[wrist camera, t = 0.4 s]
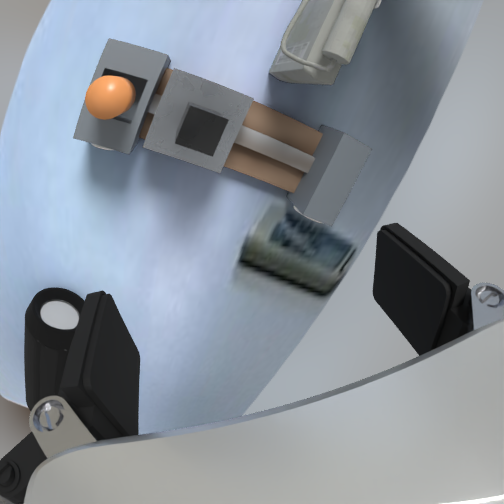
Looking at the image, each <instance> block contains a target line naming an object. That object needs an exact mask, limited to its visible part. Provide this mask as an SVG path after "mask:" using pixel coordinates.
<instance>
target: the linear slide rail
mask: <svg viewBox="0 0 504 504" xmlns="http://www.w3.org/2000/svg"><path fill="white" fill-rule="evenodd" d="M170 61H171V60H170V58H169V56H168V55H167V54H163V53H160V52H157V51H154V50H150V49H147V48H144V47H140V46H137V45H133V44H129V43H125V42H122V41H118V40H114V39H110V38H109V39H108V41H107V44H106V46H105V48H104V50H103V53H102V55H101V58H100V60H99V63H98V65H97V68H96V70H95V73H94V75H93V78H92V81H91V84H92V83H93V82H94V81H95V80H96V79H98V78H100V77H103V76H118V77H124V78H126V79H128V80H129V81H131V82H132V84H133V85H134V87H135V91H136V97H135V101H134V103H133V105H132V106H131V108H130V109H129V110H127V111H126V112H125V113H122V114H120V115H118V116H116V117H114V118H111V119H106V120H103V119H98V118H96V117H94V116H93V115H91V114H90V112H89V111H88V109H87V107H86V103H85V101H84V104H83V107H82V110H81V113H80V116H79V119H78V123H77V126H76V129H75V133H74V137H73V138H75V139H78V140H82V141H85V142H89V143H91V144H92V145H93V146H95V147H97V148H100V149H104V150H116V151H119V152H122V153H126V154H130V153H131V151H132V150H133V149H134V148H135V146H136V145H137V144H138V141H139V135H140V132H141V129H142V127H143V124H144V121H145V119H146V116H147V113H148V112H147V111H148V109H149V106H150V104H151V101H152V99H153V96H154V94H155V93H156V91H157V88H158V86H159V84H160V81H161V79H162V77H163V74H164V72H165V70H166V68H168V65H169V63H170ZM91 84H90V85H91ZM319 132H321V133H323V135H322V137H321V139H320V141H319V143H318V145H317V147H316V149H315V151H314V153H313V155H312V156H313V157H314V158H315V160H314V162H313V164H312V166H311V168H310V170H309V172H308V173H306V172H304V174H303V176H302V178H301V180H300V182H299V184H298V186H297V188H296V190H295V192H294V193H292V192H288V194H287V198H288V199H289V200H290V201H291V202H292V203H293V204H294V207H293V208H294V209H295V210H296V211H297V212H299V213H300V214H301V215H303V216H305V217H307V218H308V219H311V220H313V221H315V222H318V223H324V224H327V225H329V226H332V225H333V223H334V221H335V219H336V218H337V216H338V214H339V212H340V210H341V208H342V206H343V205H344V203H345V201H346V199H347V197H348V195H349V193H350V191H351V189H352V187H353V186H354V184H355V182H356V180H357V178H358V176H359V174H360V172H361V170H362V168H363V166H364V164H365V162H366V160H367V158H368V156H369V154H370V152H371V150H372V149H371V148H370V147H368V146H366V145H365V144H363V143H361V142H360V141H358V140H356V139H355V138H353V137H351V136H349V135H348V134H346V133H344V132H341V131H338V130H336V129H333V128H330V127H327V126H324V125H321V127H320V129H319Z"/></svg>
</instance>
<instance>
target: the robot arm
mask: <svg viewBox="0 0 504 504" xmlns="http://www.w3.org/2000/svg"><path fill="white" fill-rule="evenodd" d="M469 282H470V280H469V279H467V278H466V277H465V276H464V275H463V274H461V273H460V272H459V271H458V270H457V269H455V268H454V267H453V266H452V265H451V264H450V263H448V262H447V261H446V260H444V259H443V258H442V257H441V256H440V255H438V254H437V253H436V252H435V251H433V250H432V249H431V248H429V247H428V246H427V245H426V244H425V243H423V242H422V241H421V240H419V239H418V238H416V237H415V236H414V235H413V234H412V233H410V232H409V231H408V230H406V229H405V228H404V227H402V226H401V225H399V224H398V223H393V224H389V225H384V226H382V227H381V230H380V231H379V232H378V233H377V245H376V260H375V272H374V283H373V296H374V299H375V300H376V302H377V303H378V304H379V305H380V307H381V308H382V309H383V310H384V312H385V313H386V314H387V315H388V317H389V318H390V319H391V320H392V321H393V323H394V324H395V325H396V326H397V328H398V329H399V330H400V331H401V333H402V334H403V335H404V337H405V338H406V339H407V340H408V342H409V343H410V344H411V345H412V347H413V348H414V349H415V351H416V352H417V353H418V354H419V356H418V357H416V358H414V359H412V360H409V361H407V362H405V363H402V364H400V365H398V366H395V367H393V368H391V369H388V370H386V371H383V372H381V373H378V374H376V375H373V376H371V377H368V378H365V379H362V380H360V381H357V382H355V383H352V384H349V385H346V386H343V387H340V388H338V389H335V390H332V391H329V392H326V393H323V394H320V395H317V396H313V397H310V398H307V399H304V400H300V401H297V402H294V403H290V404H287V405H283V406H280V407H276V408H272V409H269V410H265V411H261V412H257V413H253V414H249V415H245V416H241V417H236V418H232V419H227V420H223V421H218V422H213V423H208V424H203V425H198V426H192V427H186V428H180V429H175V430H169V431H163V432H156V433H149V434H142V435H138V407H139V374H140V355H139V351H138V349H137V347H136V345H135V343H134V341H133V339H132V337H131V335H130V333H129V331H128V329H127V327H126V325H125V323H124V321H123V319H122V317H121V315H120V313H119V311H118V309H117V306H116V304H115V302H114V300H113V298H112V296H111V295H110V294H106V293H105V292H104V291H99V292H94V293H90V294H87V296H86V299H85V302H84V305H83V308H82V311H81V314H80V317H79V321H78V324H77V327H76V331H75V334H74V337H73V339H72V342H71V346H70V349H69V353H68V357H67V360H66V364H65V368H64V372H63V376H62V380H61V384H60V389H59V393H58V396H49V397H45V398H43V399H42V400H40V401H39V402H38V403H37V404H36V405H35V406H34V408H33V409H32V411H31V414H30V417H29V425H30V428H31V430H32V432H31V433H30V434H28V435H27V436H26V437H25V438H24V439H23V440H22V441H21V442H20V443H19V444H17V445H16V446H15V447H14V448H13V449H12V450H11V451H10V452H9V453H8V454H6V455H5V456H4V457H3V458H2V459H1V460H0V504H504V290H502V289H501V288H500V287H498V286H496V285H494V284H490V283H479V284H476V285H475V286H474V287H473V288H472V290H471V289H469V288H468V286H469Z"/></svg>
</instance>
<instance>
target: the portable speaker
mask: <svg viewBox="0 0 504 504" xmlns="http://www.w3.org/2000/svg"><path fill="white" fill-rule="evenodd" d="M84 302H85V301H84V300H83V299H82V298H81V297H80V296H78V295H77V294H75V293H74V292H72V291H69V290H67V289H63V288H47V289H44V290H41V291H40V292H38V293H37V294H36V295H35V296H34V298H33V300H32V301H31V303H30V305H29V306H28V308H27V310H26V313H25V345H24V364H25V388H26V402H27V405H28V408H29V409H30V411H32V409H33V408H34V406H35V405H36V404H37V403H38V402H39V401H40V400H42V399H43V398H45V397H49V396H58V393H59V389H60V384H61V380H62V376H63V372H64V368H65V364H66V360H67V357H68V353H69V349H70V346H71V342H72V339H73V337H74V334H75V331H76V327H77V324H78V321H79V317H80V314H81V311H82V308H83V305H84Z"/></svg>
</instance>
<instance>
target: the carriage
mask: <svg viewBox="0 0 504 504" xmlns="http://www.w3.org/2000/svg"><path fill="white" fill-rule="evenodd" d="M253 100H254V99H253V98H251V97H249V96H246V95H244V94H241V93H239V92H237V91H234V90H232V89H229V88H227V87H224V86H222V85H219V84H217V83H214V82H211V81H209V80H206V79H203V78H201V77H198V76H195V75H192V74H189V73H187V72H184V71H181V70H178V69H175V68H174V70H173V72H172V74H171V76H170V79H169V81H168V83H167V86H166V88H165V90H164V93H163V95H162V98H161V100H160V102H159V105H158V107H157V110H156V113H155V115H154V118H153V120H152V123H151V126H150V128H149V131H148V134H147V136H146V139H145V142H144V145H143V148H146V149H149V150H152V151H155V152H159V153H162V154H165V155H168V156H171V157H174V158H177V159H180V160H183V161H186V162H189V163H192V164H194V165H197V166H200V167H203V168H206V169H209V170H212V171H215V172H217V173H221V171H222V168H223V166H224V164H225V162H226V159H227V157H228V155H229V152H230V150H231V148H232V146H233V143H234V141H235V139H236V137H237V134H238V132H239V130H240V128H241V125H242V123H243V121H244V119H245V117H246V115H247V112H248V110H249V108H250V106H251V104H252V102H253Z"/></svg>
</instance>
